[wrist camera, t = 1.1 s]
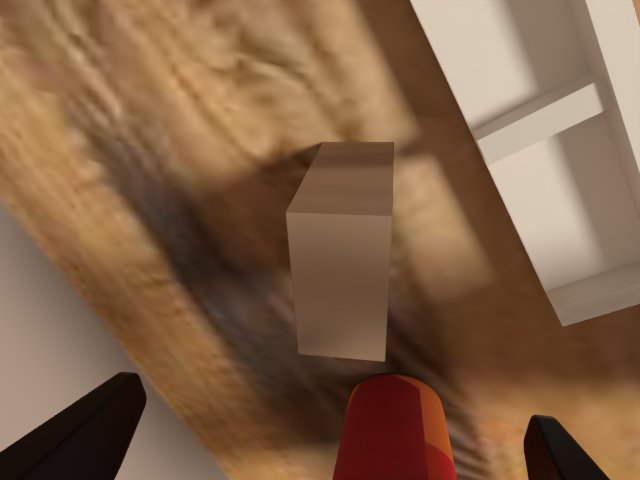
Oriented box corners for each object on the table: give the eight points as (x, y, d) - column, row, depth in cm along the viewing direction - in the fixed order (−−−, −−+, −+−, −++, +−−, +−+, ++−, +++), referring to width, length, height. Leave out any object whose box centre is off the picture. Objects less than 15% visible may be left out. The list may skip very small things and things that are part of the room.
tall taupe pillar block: (321, 141, 18) (282, 212, 12) (394, 142, 17) (392, 215, 11) (325, 251, 21) (296, 353, 15) (388, 254, 20) (384, 361, 14)
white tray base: (521, -215, 12) (556, -276, 9) (665, 247, 18) (711, 288, 15) (366, -91, 14) (359, -113, 11) (543, 288, 20) (565, 331, 17)
